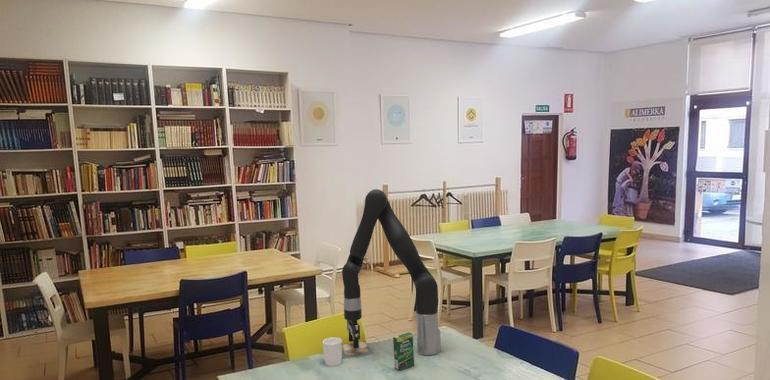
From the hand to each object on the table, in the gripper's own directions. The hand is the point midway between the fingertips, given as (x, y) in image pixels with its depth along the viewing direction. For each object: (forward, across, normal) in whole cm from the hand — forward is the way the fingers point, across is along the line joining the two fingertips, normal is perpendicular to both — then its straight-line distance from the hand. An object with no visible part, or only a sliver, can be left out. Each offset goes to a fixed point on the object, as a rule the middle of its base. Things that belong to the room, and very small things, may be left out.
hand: (353, 344), depth 210 cm
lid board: (+3, 0, 0) cm, 3 cm away
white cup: (+4, -8, +10) cm, 14 cm away
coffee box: (+4, -22, -16) cm, 27 cm away
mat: (+4, 0, 0) cm, 4 cm away
